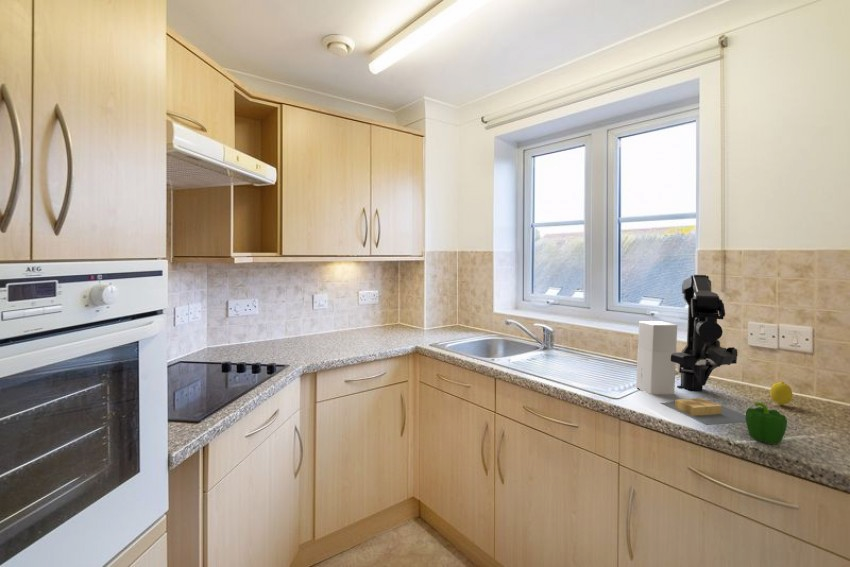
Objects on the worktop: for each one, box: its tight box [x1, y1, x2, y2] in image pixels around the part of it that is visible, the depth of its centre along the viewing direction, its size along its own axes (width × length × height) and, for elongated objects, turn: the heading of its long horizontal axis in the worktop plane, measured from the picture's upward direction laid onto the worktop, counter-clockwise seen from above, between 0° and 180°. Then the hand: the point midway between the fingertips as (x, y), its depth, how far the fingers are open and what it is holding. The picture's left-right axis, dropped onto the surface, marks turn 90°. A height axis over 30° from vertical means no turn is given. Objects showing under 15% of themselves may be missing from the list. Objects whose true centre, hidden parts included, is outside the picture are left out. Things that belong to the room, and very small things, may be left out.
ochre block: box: [674, 397, 723, 416], centre depth 128 cm, size 7×2×10 cm
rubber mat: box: [660, 399, 746, 426], centre depth 127 cm, size 18×18×1 cm
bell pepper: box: [745, 401, 788, 445], centre depth 108 cm, size 8×8×10 cm
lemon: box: [769, 381, 793, 406], centre depth 135 cm, size 6×6×8 cm
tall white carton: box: [635, 320, 678, 395], centre depth 147 cm, size 9×9×25 cm
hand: (702, 385), depth 128 cm, fingers closed
